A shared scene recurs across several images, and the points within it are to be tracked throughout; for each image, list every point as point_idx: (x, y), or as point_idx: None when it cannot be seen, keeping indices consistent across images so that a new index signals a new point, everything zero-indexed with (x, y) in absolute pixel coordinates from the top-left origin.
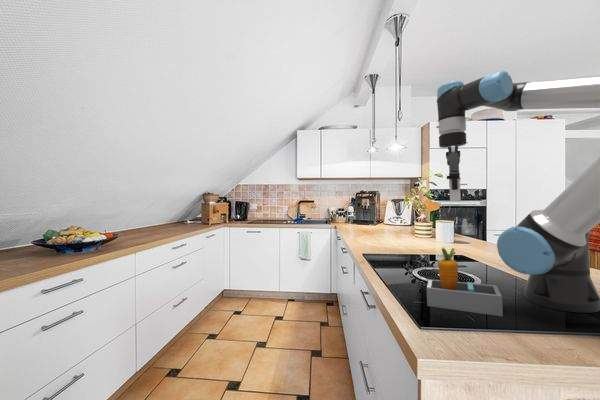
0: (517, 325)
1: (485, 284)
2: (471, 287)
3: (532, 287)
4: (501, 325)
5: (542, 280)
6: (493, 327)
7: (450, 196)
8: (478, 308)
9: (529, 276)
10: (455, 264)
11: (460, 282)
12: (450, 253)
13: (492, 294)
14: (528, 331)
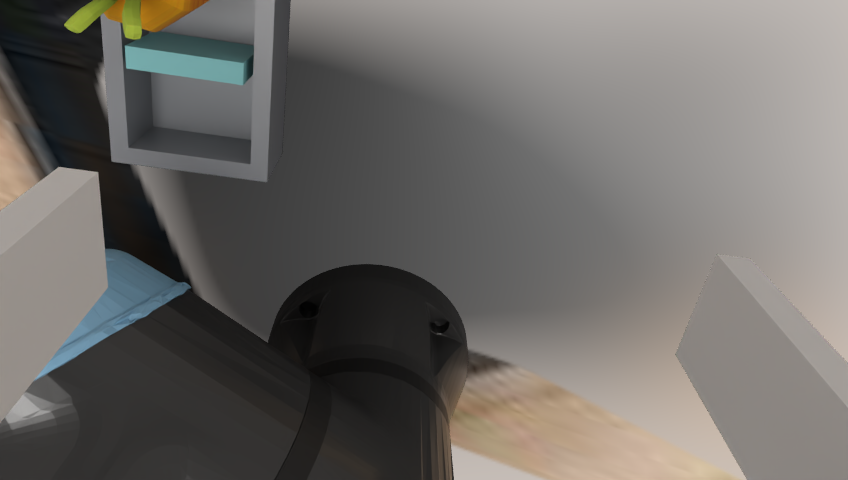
0: (83, 156)
1: (268, 141)
2: (154, 64)
3: (335, 303)
4: (56, 107)
5: (310, 346)
6: (23, 76)
7: (19, 203)
8: None
9: (386, 329)
10: (105, 14)
11: (264, 32)
12: (125, 2)
13: (123, 133)
14: (48, 172)
